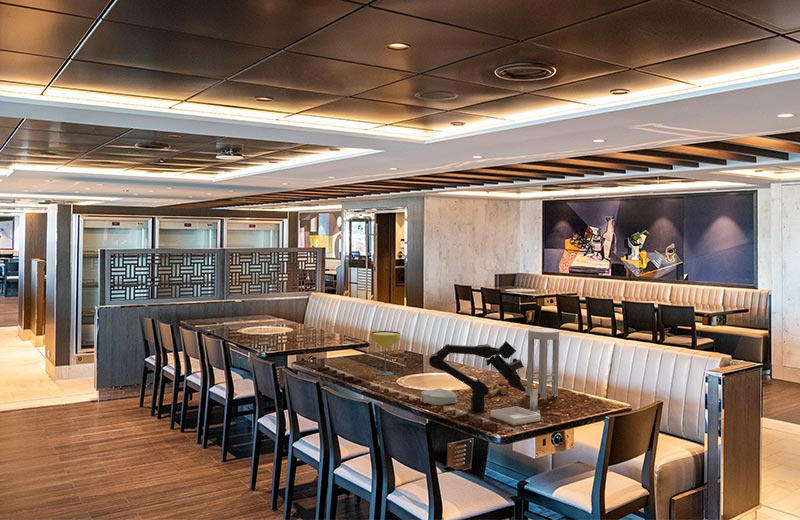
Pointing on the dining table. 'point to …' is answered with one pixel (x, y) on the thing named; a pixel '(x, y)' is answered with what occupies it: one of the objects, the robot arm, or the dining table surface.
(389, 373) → the cocktail glass
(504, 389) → the kendama
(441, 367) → the robot arm
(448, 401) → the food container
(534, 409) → the pin
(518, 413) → the pin tray
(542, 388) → the stool
